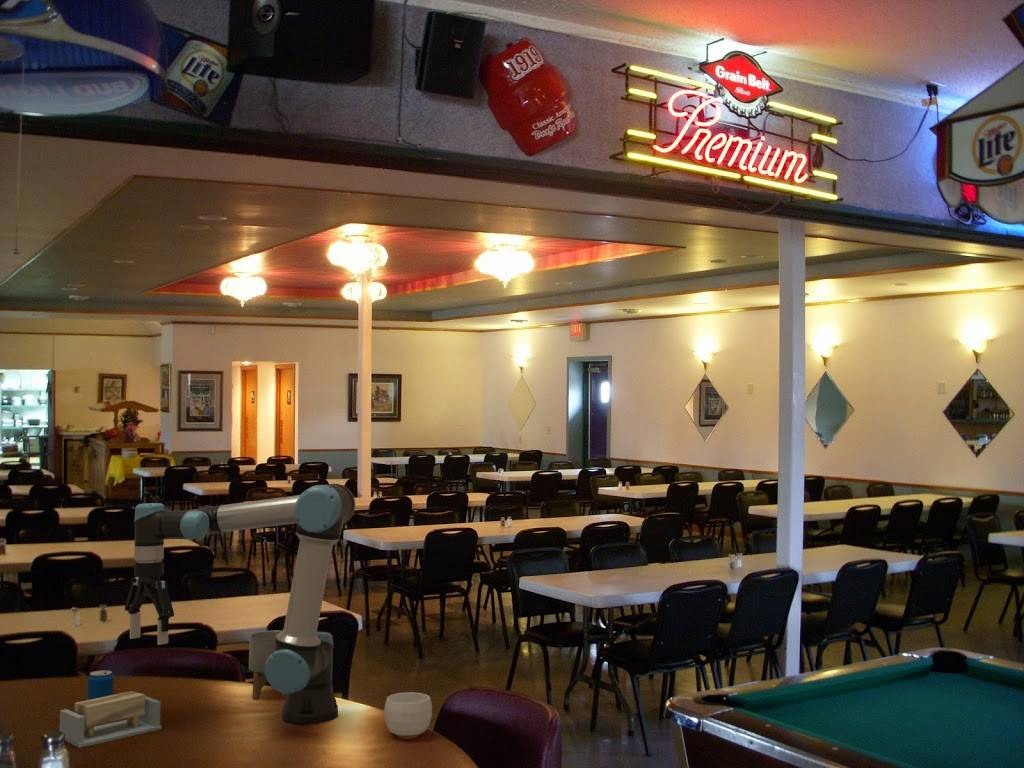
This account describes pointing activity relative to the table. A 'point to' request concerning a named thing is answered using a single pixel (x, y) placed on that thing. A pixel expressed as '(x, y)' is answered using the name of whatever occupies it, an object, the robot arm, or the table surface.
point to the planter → (261, 658)
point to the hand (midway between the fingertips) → (148, 641)
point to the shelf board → (111, 708)
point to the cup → (408, 714)
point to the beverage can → (100, 684)
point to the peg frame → (109, 726)
